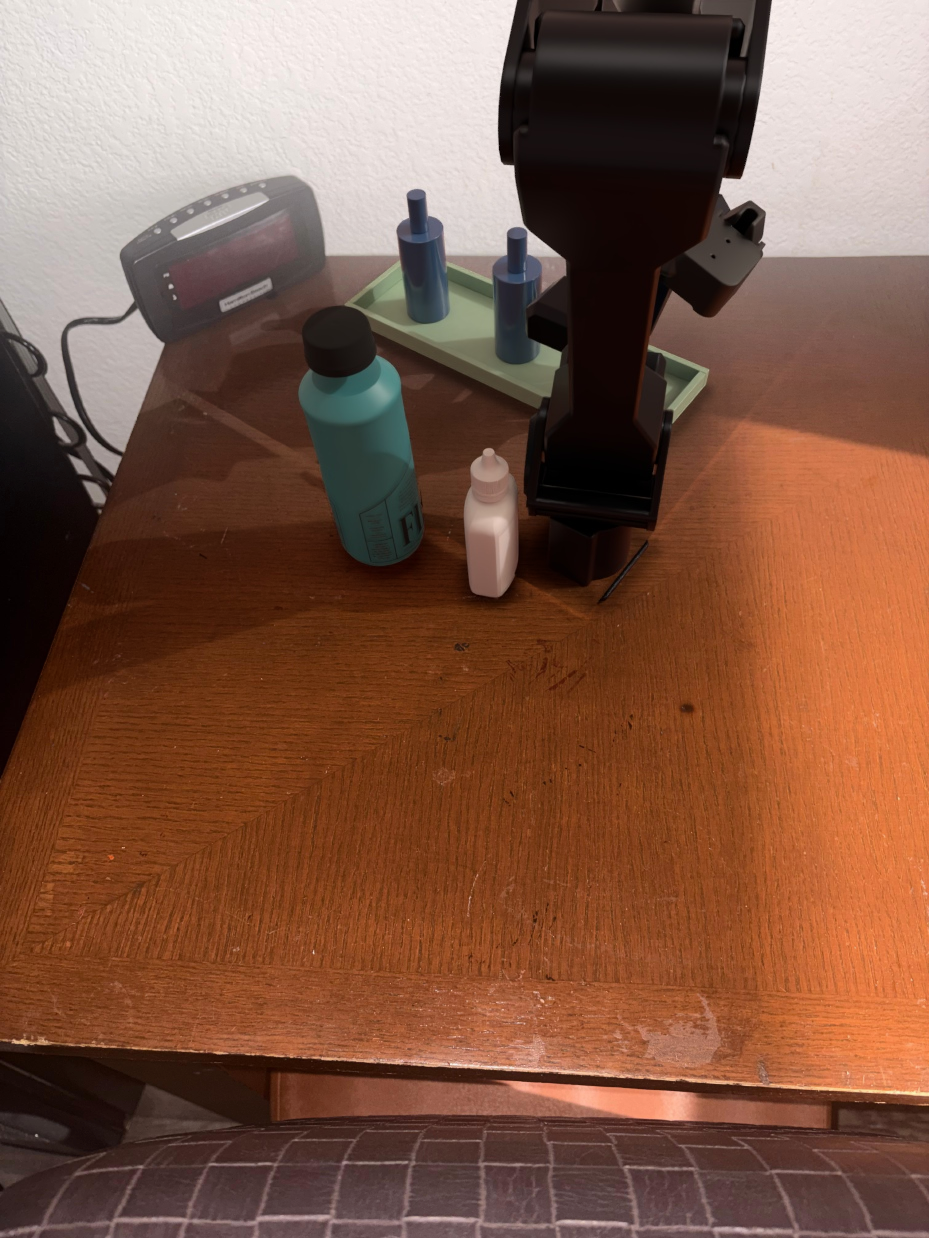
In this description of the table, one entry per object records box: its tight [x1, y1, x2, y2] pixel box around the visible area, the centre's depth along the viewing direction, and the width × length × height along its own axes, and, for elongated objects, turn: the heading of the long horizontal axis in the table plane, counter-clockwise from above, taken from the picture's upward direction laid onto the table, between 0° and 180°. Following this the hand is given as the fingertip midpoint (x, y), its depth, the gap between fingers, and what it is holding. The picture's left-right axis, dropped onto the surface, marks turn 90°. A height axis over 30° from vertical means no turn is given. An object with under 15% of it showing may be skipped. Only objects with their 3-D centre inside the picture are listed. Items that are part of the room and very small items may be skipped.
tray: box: [343, 259, 710, 425], centre depth 74 cm, size 10×31×2 cm, turn 53°
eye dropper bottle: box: [463, 447, 520, 598], centre depth 57 cm, size 4×6×12 cm
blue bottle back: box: [395, 188, 450, 324], centre depth 73 cm, size 4×4×11 cm
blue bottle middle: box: [491, 226, 543, 364], centre depth 69 cm, size 4×4×11 cm
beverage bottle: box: [297, 305, 426, 567], centre depth 55 cm, size 6×7×20 cm
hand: (619, 361), depth 68 cm, fingers open, 7 cm apart
